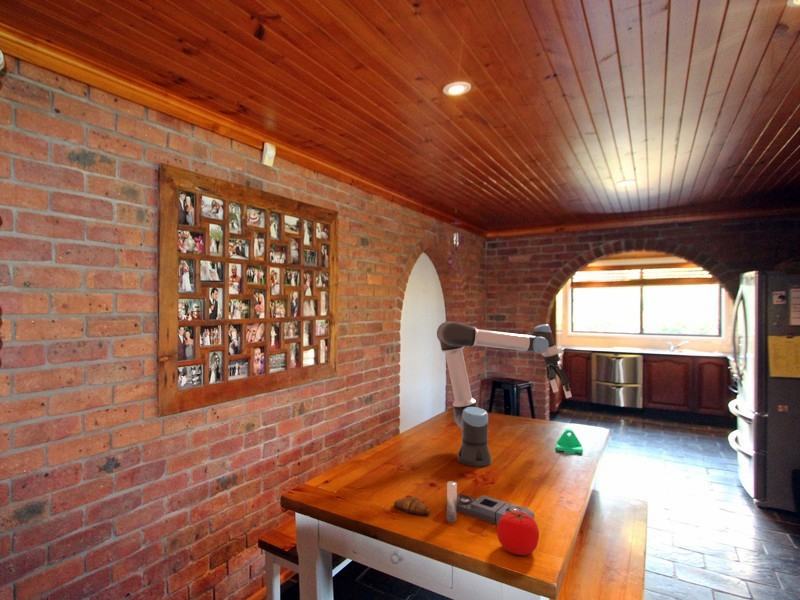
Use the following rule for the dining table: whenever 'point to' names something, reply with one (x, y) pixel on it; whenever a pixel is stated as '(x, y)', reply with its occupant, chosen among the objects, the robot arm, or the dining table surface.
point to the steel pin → (451, 501)
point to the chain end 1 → (464, 507)
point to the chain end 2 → (496, 507)
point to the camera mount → (569, 443)
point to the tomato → (518, 533)
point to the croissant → (412, 506)
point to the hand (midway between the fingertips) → (562, 394)
